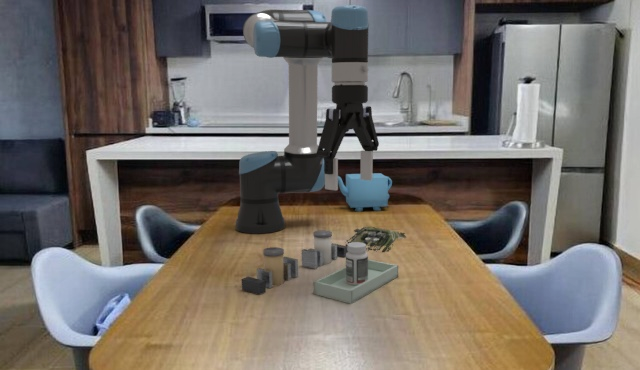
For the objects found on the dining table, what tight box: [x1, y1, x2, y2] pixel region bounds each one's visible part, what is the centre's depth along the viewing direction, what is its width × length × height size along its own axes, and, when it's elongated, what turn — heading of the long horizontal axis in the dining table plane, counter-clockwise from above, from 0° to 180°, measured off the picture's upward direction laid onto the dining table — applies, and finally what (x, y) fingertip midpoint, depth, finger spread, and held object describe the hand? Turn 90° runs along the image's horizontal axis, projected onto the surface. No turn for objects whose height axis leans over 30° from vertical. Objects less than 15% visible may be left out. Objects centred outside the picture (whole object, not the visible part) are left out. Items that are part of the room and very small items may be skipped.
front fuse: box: [262, 246, 285, 287], centre depth 117 cm, size 4×4×7 cm
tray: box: [313, 258, 399, 304], centre depth 115 cm, size 9×19×3 cm, turn 143°
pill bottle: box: [345, 242, 369, 285], centre depth 115 cm, size 5×5×8 cm
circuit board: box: [345, 226, 407, 253], centre depth 151 cm, size 25×18×4 cm
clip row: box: [241, 242, 348, 296], centre depth 125 cm, size 5×33×4 cm, turn 143°
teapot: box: [338, 172, 393, 213], centre depth 190 cm, size 22×11×14 cm, turn 96°
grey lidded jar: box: [312, 229, 333, 265], centre depth 131 cm, size 4×4×7 cm
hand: (349, 184), depth 115 cm, fingers open, 13 cm apart
